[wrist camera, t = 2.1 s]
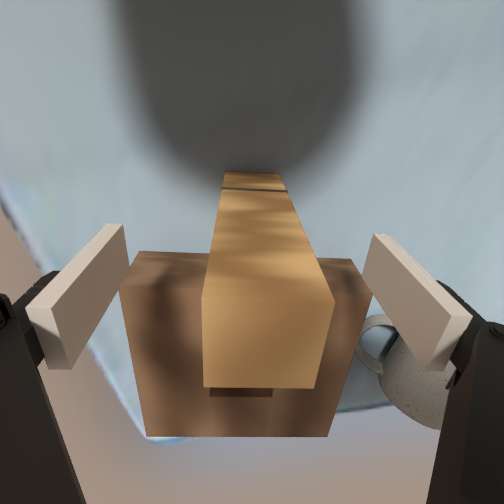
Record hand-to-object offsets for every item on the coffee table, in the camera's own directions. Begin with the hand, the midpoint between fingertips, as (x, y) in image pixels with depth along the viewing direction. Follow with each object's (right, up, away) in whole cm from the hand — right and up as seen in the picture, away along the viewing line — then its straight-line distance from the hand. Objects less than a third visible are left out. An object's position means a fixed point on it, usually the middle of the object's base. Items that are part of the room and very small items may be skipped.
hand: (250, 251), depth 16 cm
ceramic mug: (+16, -9, +15) cm, 23 cm away
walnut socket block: (-1, -8, +14) cm, 16 cm away
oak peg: (0, +4, +7) cm, 8 cm away
